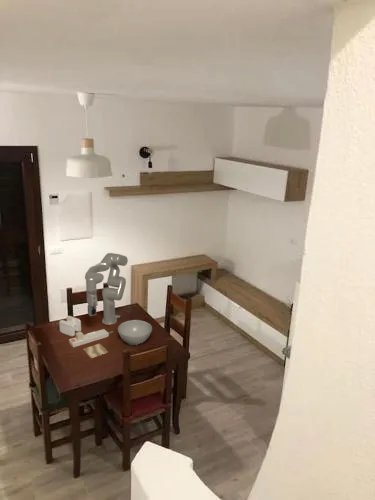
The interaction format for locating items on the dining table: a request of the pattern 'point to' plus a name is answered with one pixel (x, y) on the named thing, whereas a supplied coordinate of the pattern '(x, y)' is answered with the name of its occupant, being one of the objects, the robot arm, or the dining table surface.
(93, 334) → the power strip
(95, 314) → the charger
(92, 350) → the beige square cloth
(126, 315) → the dining table surface
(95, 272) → the robot arm
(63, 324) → the cable organizer
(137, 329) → the decorative bowl
